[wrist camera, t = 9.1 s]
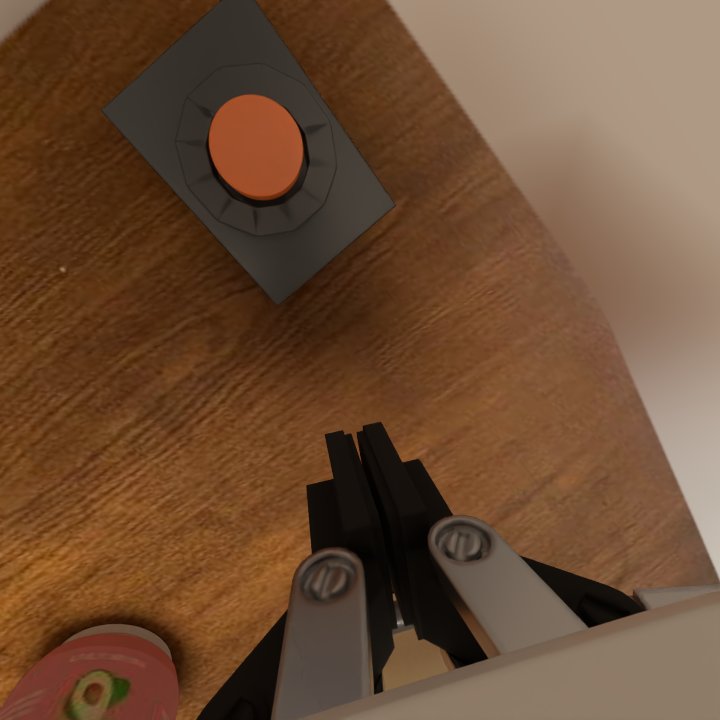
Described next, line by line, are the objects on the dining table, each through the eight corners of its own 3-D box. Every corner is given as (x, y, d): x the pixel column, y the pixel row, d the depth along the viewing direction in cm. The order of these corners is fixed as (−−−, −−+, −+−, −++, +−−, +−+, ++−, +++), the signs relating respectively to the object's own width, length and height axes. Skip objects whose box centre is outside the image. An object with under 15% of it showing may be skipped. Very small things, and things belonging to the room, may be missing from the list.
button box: (116, 121, 18) (79, 95, 15) (245, 3, 18) (236, -51, 14) (278, 301, 22) (276, 312, 19) (388, 207, 21) (406, 202, 18)
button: (197, 146, 16) (187, 136, 15) (262, 88, 16) (259, 71, 15) (257, 217, 18) (254, 215, 16) (318, 165, 17) (321, 157, 16)
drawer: (296, 569, 26) (299, 686, 20) (454, 527, 28) (510, 622, 21) (339, 736, 32) (354, 871, 25) (469, 694, 33) (516, 811, 27)
